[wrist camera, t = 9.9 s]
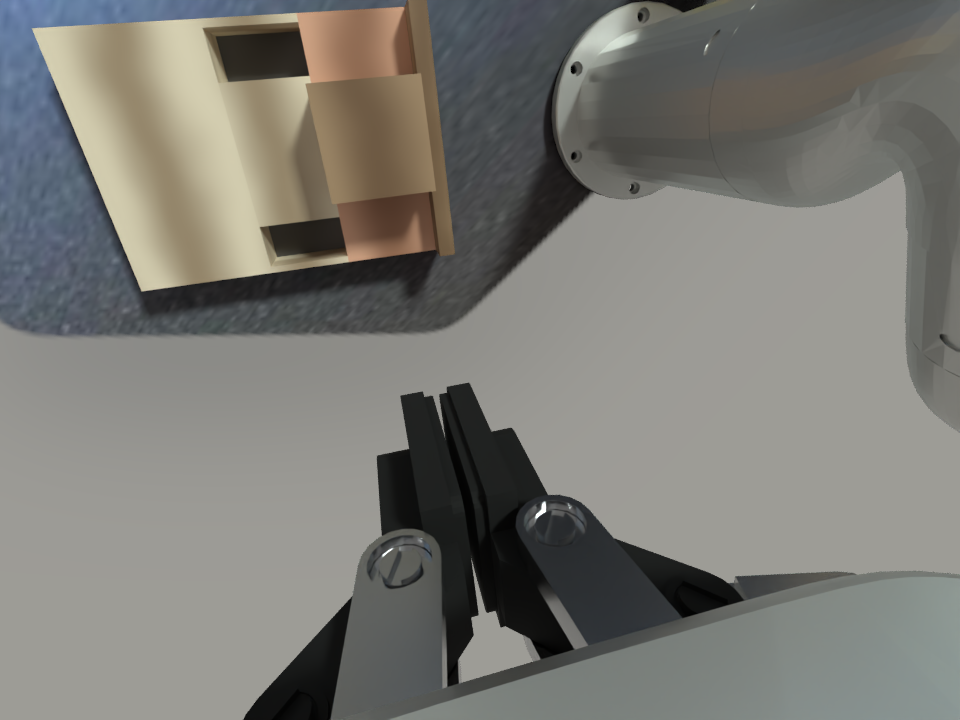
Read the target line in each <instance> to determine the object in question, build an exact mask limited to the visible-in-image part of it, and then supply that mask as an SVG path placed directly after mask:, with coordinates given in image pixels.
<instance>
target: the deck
mask: <svg viewBox="0 0 960 720" xmlns="http://www.w3.org/2000/svg"><path fill="white" fill-rule="evenodd" d="M32 30H33V32H34V35H35V37H36V39H37V42H38V44H39V47H40V49H41V51H42V54H43V56H44V59H45V61H46V63H47V66H48V68H49V71H50V73H51V75H52V78H53V80H54V82H55V85H56V87H57V90H58V92H59V94H60V97H61V99H62V102H63V104H64V106H65V109H66V111H67V114H68V116H69V118H70V121H71V123H72V126H73V128H74V130H75V133H76V135H77V138H78V140H79V142H80V145H81V147H82V150H83V152H84V154H85V157H86V159H87V161H88V164H89V166H90V169H91V171H92V173H93V176H94V178H95V181H96V183H97V185H98V188H99V190H100V193H101V195H102V197H103V200H104V202H105V205H106V207H107V209H108V212H109V214H110V217H111V219H112V221H113V224H114V226H115V229H116V231H117V233H118V236H119V238H120V240H121V243H122V245H123V248H124V250H125V252H126V255H127V257H128V260H129V262H130V264H131V267H132V269H133V272H134V274H135V276H136V279H137V281H138V284H139V286H140V288H141V291H148V290H155V289H163V288H170V287H177V286H184V285H191V284H198V283H205V282H212V281H219V280H226V279H233V278H240V277H247V276H254V275H261V274H268V273H275V272H282V271H289V270H296V269H303V268H310V267H317V266H324V265H332V264H339V263H346V262H353V261H360V260H367V259H374V258H381V257H388V256H395V255H402V254H409V253H416V252H423V251H430V250H436V251H437V252H438V254H439V255H440V256H445V255H452V254H455V250H454V241H453V232H452V223H451V214H450V205H449V196H448V187H447V178H446V169H445V161H444V152H443V143H442V134H441V125H440V116H439V107H438V98H437V89H436V80H435V71H434V62H433V53H432V44H431V35H430V26H429V17H428V8H427V0H407V2H406V5H405V7H396V8H378V9H361V10H344V11H326V12H309V13H292V14H274V15H257V16H240V17H222V18H205V19H187V20H170V21H153V22H135V23H118V24H101V25H83V26H66V27H49V28H32ZM418 73H421V77H422V85H423V93H424V101H425V109H426V116H427V124H428V132H429V140H430V147H431V155H432V163H433V171H434V178H435V186H436V191H432V192H424V193H416V194H409V195H401V196H393V197H385V198H378V199H370V200H362V201H355V202H347V203H339V204H332V201H331V197H330V192H329V188H328V183H327V179H326V174H325V170H324V165H323V161H322V156H321V152H320V147H319V143H318V138H317V134H316V129H315V125H314V120H313V116H312V112H311V107H310V103H309V98H308V94H307V89H306V85H305V84H306V83H317V82H329V81H340V80H351V79H362V78H373V77H385V76H396V75H407V74H418Z"/></svg>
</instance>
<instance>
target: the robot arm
mask: <svg viewBox="0 0 960 720" xmlns="http://www.w3.org/2000/svg"><path fill="white" fill-rule="evenodd" d="M638 15H639V17H640V19H639V20H638ZM571 66H573V67H574V69H575V71H574V73H573V74H572V73H571ZM551 118H552V128H553V136H554V139H555V143H556V146H557V150H558V153H559V155H560V157H561V159H562V161H563V163H564V165H565V167H566V168H567V169H568V171H569V172H570V173H571V175H572V176H573V177H574V178H575V179H576V180H577V181H578V182H579V183H581V184H582V185H583V186H584V187H585V188H587V189H589V190H591V191H593V192H595V193H597V194H599V195H603V196H606V197H609V198H616V199H635V198H639V197H643V196H646V195H650V194H652V193H654V192H656V191H658V190H660V189H662V188H664V187H665V186H673V187H678V188H684V189H689V190H695V191H701V192H706V193H712V194H717V195H723V196H728V197H734V198H739V199H745V200H750V201H756V202H761V203H766V204H772V205H777V206H785V207H816V206H822V205H827V204H831V203H835V202H839V201H842V200H845V199H847V198H850V197H853V196H855V195H857V194H859V193H861V192H863V191H865V190H868V189H869V188H872V187H873V186H875V185H877V184H879V183H881V182H883V181H884V180H886V179H887V178H889V177H891V176H892V175H894V174H896V173H897V172H899V171H900V170H901V171H902V173H903V177H904V182H905V187H906V228H907V231H908V242H907V276H906V310H905V323H906V352H907V353H906V354H907V364H908V368H909V372H910V377H911V379H912V382H913V384H914V386H915V388H916V391H917V393H918V394H919V396H920V397H921V398H922V400H923V401H924V403H925V404H926V405H927V407H928V408H929V409H930V410H931V411H932V412H933V413H934V414H935V415H936V416H937V417H939V418H940V419H941V420H942V421H944V422H945V423H946V424H948V425H949V426H950V427H952V428H953V429H955V430H957V431H958V432H960V0H718V1H715V2H712V3H709V4H707V5H704V6H701V7H698V8H695V9H693V10H690V11H687V12H684V13H683V12H681V11H680V10H679V9H677V8H674V7H672V6H669V5H667V4H665V3H659V2H651V1H644V2H636V3H630V4H627V5H625V6H622V7H619V8H617V9H614V10H612V11H611V12H609V13H607V14H605V15H603V16H601V17H600V18H599V19H597V20H596V21H595V22H594V23H592V24H591V25H590V26H589V27H587V28H586V30H585V31H584V32H583V33H582V34H581V35H580V37H579V38H578V39H577V40H576V41H575V42H574V44H573V46H572V47H571V49H570V51H569V52H568V54H567V56H566V57H565V59H564V61H563V64H562V66H561V69H560V71H559V74H558V76H557V80H556V84H555V89H554V93H553V98H552V114H551ZM572 152H573V153H574V155H575V156H574V158H573V159H571V154H572ZM630 185H631V189H630V190H629V188H630ZM439 397H440V404H441V411H442V417H443V424H444V432H445V437H444V433H443V430H442V426H441V423H440V419H439V416H438V412H437V409H436V406H435V402H434V399H433V396H429V397H424V394H423V392H418V393H412V394H407V395H402V396H401V403H402V409H403V414H404V420H405V426H406V432H407V438H408V444H409V449H407V450H402V451H397V452H393V453H388V454H383V455H378V456H377V468H378V484H379V499H380V515H381V530H382V536H381V537H379V538H378V539H376V540H375V541H374V542H373V543H371V544H370V545H369V546H368V547H367V549H366V550H365V552H364V553H363V554H362V556H361V559H360V562H359V565H358V568H357V574H356V579H355V585H354V591H353V596H352V597H351V599H349V600H348V602H347V603H346V604H345V605H344V606H343V607H342V608H341V609H340V610H339V611H338V613H336V615H335V616H334V617H333V618H332V619H331V620H330V621H329V622H328V623H327V624H326V626H324V628H323V629H322V630H321V631H320V632H319V633H318V634H317V635H316V636H315V637H314V639H312V641H311V642H310V643H309V644H308V645H307V646H306V647H305V648H304V649H303V650H302V651H301V652H300V654H299V655H298V656H297V657H296V658H295V659H294V660H293V661H292V662H291V663H290V665H289V666H288V667H287V668H286V669H285V670H284V671H283V672H282V673H281V674H280V675H279V676H278V678H277V679H276V680H275V681H274V682H273V683H272V684H271V685H270V686H269V687H268V688H267V690H265V692H264V693H263V694H262V695H261V696H260V697H259V698H258V699H257V701H256V702H255V703H254V705H253V706H252V707H251V709H250V710H249V711H248V712H247V714H246V715H245V718H244V720H960V575H959V574H949V573H935V572H923V571H890V572H875V573H867V574H859V575H857V574H854V573H847V572H817V573H795V574H774V575H752V576H736V577H735V580H734V583H727V582H725V581H724V580H723V579H721V578H719V577H717V576H715V575H713V574H711V573H708V572H706V571H703V570H700V569H697V568H694V567H692V566H689V565H686V564H683V563H680V562H678V561H675V560H672V559H670V558H667V557H664V556H661V555H659V554H656V553H653V552H650V551H647V550H645V549H642V548H639V547H636V546H634V545H631V544H628V543H625V542H623V541H620V540H617V539H614V538H613V537H612V535H611V534H610V533H609V532H608V531H607V530H606V529H605V527H604V526H603V525H602V524H601V523H600V522H599V520H598V519H597V518H596V517H595V516H594V515H593V513H592V512H591V511H590V510H589V509H588V508H587V507H586V506H585V505H583V504H582V503H581V502H579V501H577V500H575V499H573V498H571V497H567V496H562V495H548V494H547V492H546V491H545V488H544V487H543V485H542V483H541V481H540V479H539V477H538V475H537V473H536V471H535V470H534V468H533V466H532V464H531V462H530V460H529V458H528V456H527V454H526V452H525V450H524V449H523V447H522V445H521V443H520V441H519V439H518V437H517V435H516V434H515V432H514V430H513V429H512V428H507V429H503V430H498V431H493V432H491V430H490V428H489V426H488V423H487V421H486V419H485V417H484V415H483V412H482V410H481V408H480V405H479V403H478V401H477V399H476V396H475V394H474V392H473V390H472V388H471V386H470V384H469V383H465V384H460V385H454V386H450V387H447V393H444V394H440V396H439ZM445 439H446V440H445ZM471 558H472V562H473V565H474V569H475V573H476V577H477V581H478V584H479V588H480V592H481V595H482V599H483V603H484V606H485V610H486V612H487V613H489V612H492V611H496V613H497V617H498V620H499V623H500V627H504V626H506V627H508V628H510V629H512V630H514V631H516V632H518V633H520V634H522V635H524V641H525V644H526V647H527V650H528V652H529V654H530V656H531V658H532V660H533V662H531V663H527V664H524V665H521V666H517V667H514V668H510V669H507V670H504V671H500V672H497V673H493V674H490V675H487V676H483V677H480V678H476V679H473V680H470V681H466V682H463V683H461V667H460V661H459V657H460V656H461V654H462V653H463V651H464V650H465V648H466V647H467V645H468V643H469V642H470V640H471V639H472V637H473V635H474V634H473V628H472V621H471V617H474V616H478V606H477V599H476V591H475V584H474V576H473V570H472V562H471Z"/></svg>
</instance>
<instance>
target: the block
mask: <svg viewBox="0 0 960 720" xmlns="http://www.w3.org/2000/svg"><path fill="white" fill-rule="evenodd" d="M305 85H306V89H307V94H308V98H309V103H310V107H311V112H312V116H313V120H314V125H315V129H316V134H317V138H318V143H319V147H320V152H321V156H322V161H323V165H324V170H325V174H326V179H327V183H328V188H329V192H330V197H331V201H332V204H339V203H347V202H355V201H362V200H370V199H378V198H385V197H393V196H401V195H409V194H416V193H424V192H432V191H436V186H435V178H434V171H433V163H432V155H431V147H430V140H429V132H428V124H427V116H426V109H425V101H424V93H423V85H422V77H421V73H418V74H407V75H396V76H385V77H373V78H362V79H351V80H340V81H329V82H317V83H306V84H305Z"/></svg>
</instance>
